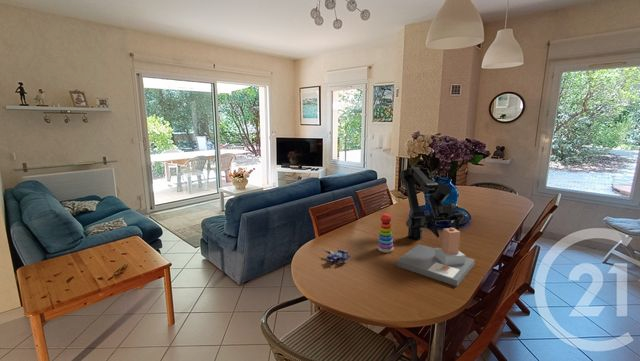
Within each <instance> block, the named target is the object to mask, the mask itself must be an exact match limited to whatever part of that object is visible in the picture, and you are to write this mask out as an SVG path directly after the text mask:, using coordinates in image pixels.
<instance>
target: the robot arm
mask: <svg viewBox="0 0 640 361" xmlns="http://www.w3.org/2000/svg"><path fill="white" fill-rule="evenodd" d="M399 177H400V180H401V183H402V185H403V186H405V188H406V194H407V198H408V205H409V210H410V212H409V214H408V219H407V220H406V221H405V226H406V227H407V228H408V231H407V232H408V233H407V235H406V238H408V239H412V240H414V241H415V240H416V241H419V240H420V239H422V238H423V230H422V228H427V229H428V230H429V231H431V232H432V233H433V234H434V235H435V237H436V238H440V233H439V231H438V228H437V226H436V222H448V221H449V223H450V224H449V225H450V228H455V229H456V230H458V231H460V230H459V228H460V227H459V225H460V223H461V222H462V220H464V219H465V216H464V215H463V213H461V212H460V213H459V212H456V213H454V212H455V211H457V206H456V204H455V203H449V204H447V205H446V204H444V203H443V201H445V200H446V199H447V197H449V195H450V194H451V192H452V189H451V188H450V187H449V186H448V185H446V184H445V182H439V183H438V182H436V181H435V180H432V179H430V178H428V176H427V175H426V174H425V173H424V172H423V171H422V170H421V168H420V167H418V166H411V167H409V168H407V169H401V171H400V173H399ZM416 181H417V183H418V184H419V185H420V190H421V192H422V193H423V194H424V195H428V196H427V198H426V202H427V203H429V205H430V213H432V214H425V211H424V210H421V209H420V205H419V204H420V203H419V200H418V194H417V190H416V186H415V184H416ZM451 213H453V214H452V215H451Z"/></svg>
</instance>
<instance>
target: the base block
mask: <svg viewBox="0 0 640 361" xmlns="http://www.w3.org/2000/svg"><path fill="white" fill-rule="evenodd" d="M434 248H435V257H436V258H437V259H438V260H440V261H441V262H442V263H443V264H444V265H457V264H465V257H466V254H465V253H463V252H462V251H460V250H459V253H458V254H447V253H445V252H444V251H443V250H442V247H434Z"/></svg>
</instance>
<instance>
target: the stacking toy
mask: <svg viewBox="0 0 640 361" xmlns="http://www.w3.org/2000/svg"><path fill="white" fill-rule="evenodd" d="M380 221H381V223H380V228H379V230H380V231H379V235H378V237H379V238H378V242H377V248H376V249H377V250H378V251H379V252H382V253H387V254H388V253H392V252H393V251H394V249H395V248H394V243H393V242H394V240H393V232H392V227H391V226H392V224H391V221H392V216H391V215H390V214H389V213H383V214H381V215H380Z"/></svg>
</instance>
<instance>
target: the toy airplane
mask: <svg viewBox="0 0 640 361" xmlns="http://www.w3.org/2000/svg"><path fill="white" fill-rule="evenodd" d="M322 251H323V252H325V253H327V254H328V256H327V255H326V259H327V261H328V262H337V261H338V262H337V264H338V265H340V264H341V262H342V263H343V262H345V261H348V259H349V258H350V257H351V255H349V254H348V253H349V251H347V250H337V252H334V251H332V250H323V249H322Z"/></svg>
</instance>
